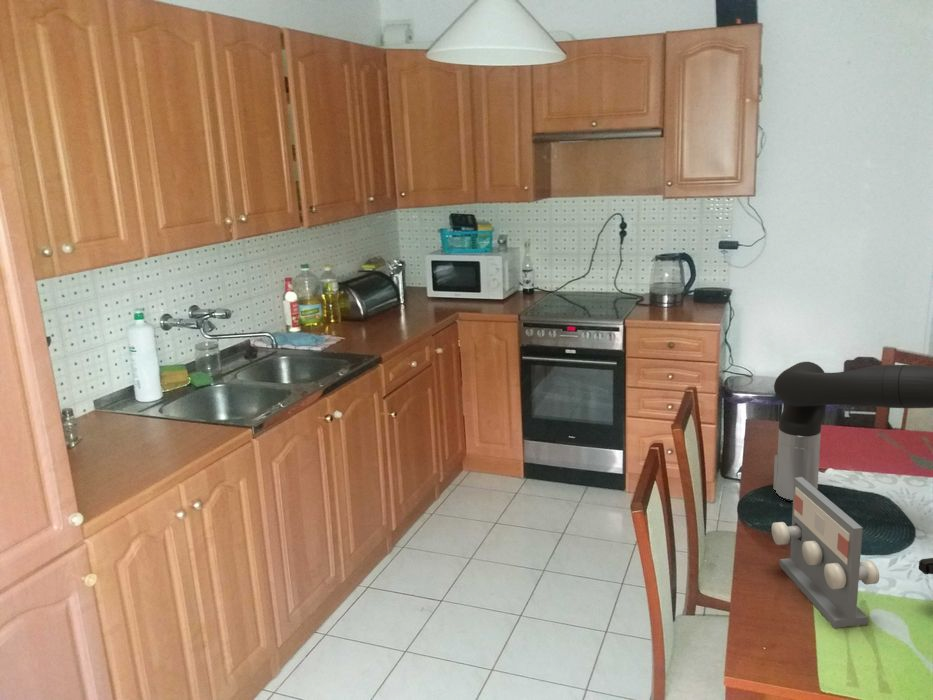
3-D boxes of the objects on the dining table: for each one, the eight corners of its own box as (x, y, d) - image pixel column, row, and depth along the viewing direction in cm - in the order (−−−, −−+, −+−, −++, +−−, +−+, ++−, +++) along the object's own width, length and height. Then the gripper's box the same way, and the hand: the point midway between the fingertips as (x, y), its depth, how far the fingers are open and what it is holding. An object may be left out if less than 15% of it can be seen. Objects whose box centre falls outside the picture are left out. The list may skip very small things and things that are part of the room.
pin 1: (808, 534, 154) (809, 514, 153) (819, 545, 150) (820, 525, 149) (771, 538, 154) (772, 518, 153) (781, 549, 149) (782, 529, 148)
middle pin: (840, 553, 147) (842, 533, 145) (853, 565, 142) (855, 544, 141) (801, 557, 146) (802, 537, 145) (813, 569, 142) (814, 548, 141)
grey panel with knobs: (807, 563, 156) (812, 476, 151) (866, 625, 136) (875, 526, 131) (779, 566, 156) (783, 478, 151) (834, 628, 136) (841, 529, 131)
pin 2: (864, 576, 139) (866, 554, 138) (879, 589, 135) (880, 567, 133) (823, 580, 138) (824, 559, 137) (836, 594, 134) (838, 572, 133)
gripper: (988, 521, 143) (900, 530, 142) (1045, 558, 130) (948, 568, 129) (984, 557, 145) (897, 566, 144) (1039, 596, 132) (944, 606, 131)
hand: (921, 567), depth 137 cm, fingers closed
